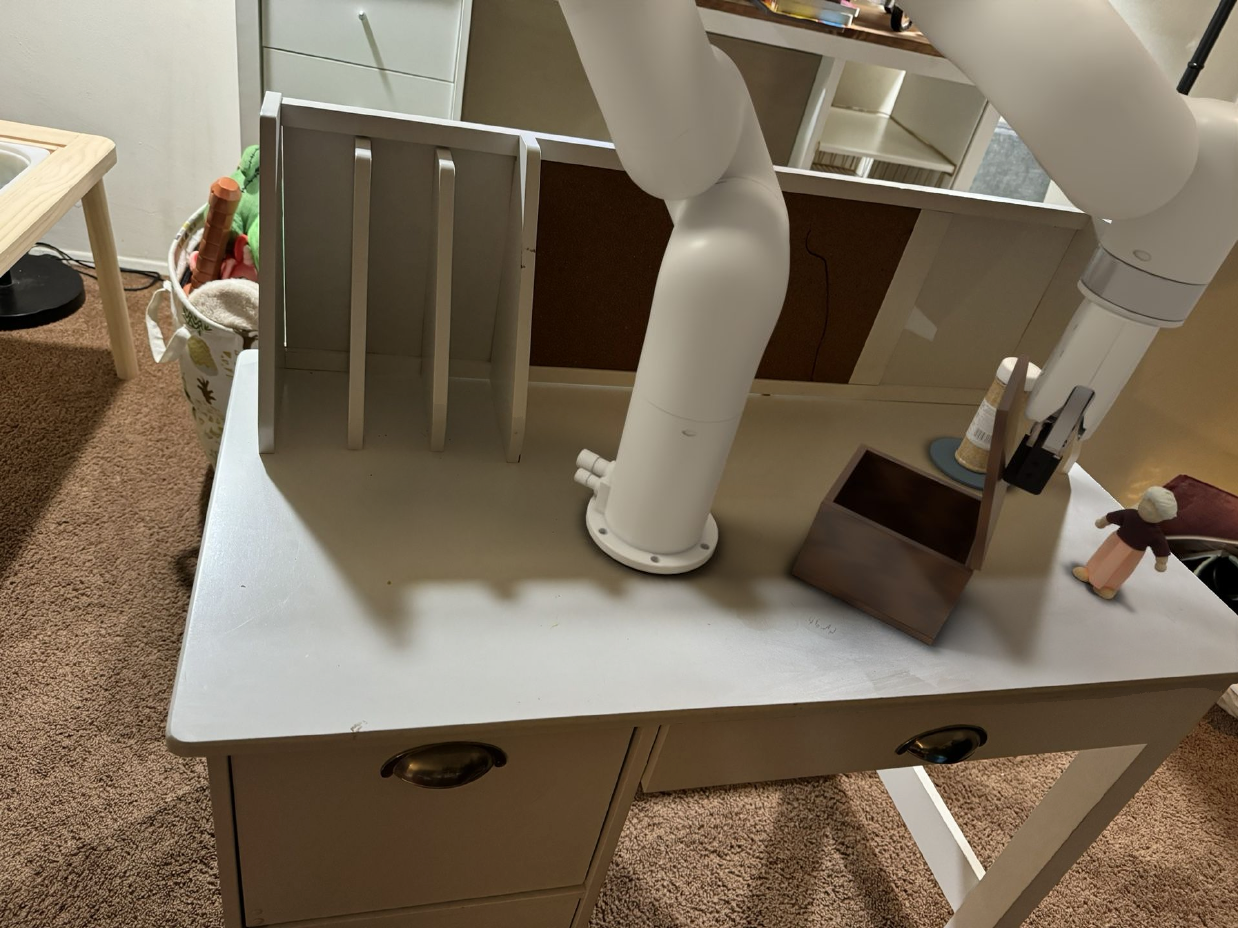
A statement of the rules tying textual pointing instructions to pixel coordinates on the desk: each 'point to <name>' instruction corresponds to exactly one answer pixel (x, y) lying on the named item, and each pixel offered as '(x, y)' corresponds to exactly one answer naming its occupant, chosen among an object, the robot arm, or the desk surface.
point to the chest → (892, 542)
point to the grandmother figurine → (1130, 542)
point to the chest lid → (999, 459)
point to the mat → (955, 463)
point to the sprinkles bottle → (990, 417)
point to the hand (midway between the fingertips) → (1021, 483)
